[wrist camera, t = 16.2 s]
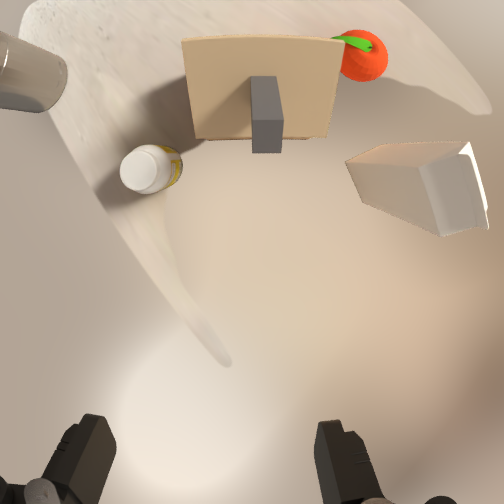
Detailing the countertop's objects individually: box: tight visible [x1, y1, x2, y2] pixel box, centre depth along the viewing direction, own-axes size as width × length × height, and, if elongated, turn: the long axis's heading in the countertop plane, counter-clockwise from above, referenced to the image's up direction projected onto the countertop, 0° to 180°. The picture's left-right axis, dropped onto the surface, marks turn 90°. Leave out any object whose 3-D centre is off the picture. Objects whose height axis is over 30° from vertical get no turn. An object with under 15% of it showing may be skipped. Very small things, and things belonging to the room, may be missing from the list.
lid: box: [181, 35, 345, 153], centre depth 22 cm, size 12×10×7 cm
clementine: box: [330, 30, 388, 82], centre depth 31 cm, size 8×7×7 cm
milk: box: [345, 142, 489, 237], centre depth 28 cm, size 6×6×22 cm
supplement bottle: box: [120, 145, 183, 194], centre depth 34 cm, size 5×5×10 cm
